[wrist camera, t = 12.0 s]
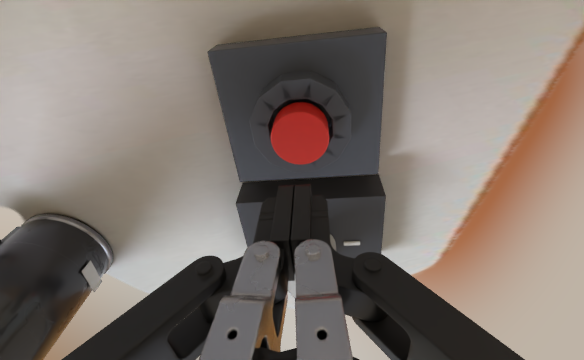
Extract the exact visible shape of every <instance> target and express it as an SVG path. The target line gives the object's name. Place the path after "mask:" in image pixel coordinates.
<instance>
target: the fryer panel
mask: <svg viewBox="0 0 584 360" xmlns="http://www.w3.org/2000/svg"><path fill="white" fill-rule="evenodd" d="M309 184H311V195H323V196H324V197H325V199H326V200H327V202H328V216H329V229H330V234H331V235H332V236H333V238H334V239H335V242H336V251H337V252H338V253H339V254H341V255H344V256H347V257H351V258H356V257H357V256H358V255H360V254H362V253H365V252H375V253H379V254H381V248H382V235H383V223H384V211H385V199H386V195H385V192H384V189H383V186H382V183H381V180H380V177H379V175H369V176H352V177H334V178H317V179H299V180H281V181H264V182H246V183H243V184H242V187H241V190H240V192H239V195H238V198H237V201H236V206H237V210H238V213H239V217H240V221H241V224H242V228H243V232H244V235H245V239H246V243H247V246H248V247H249V246H250V245H252V244H253V242H254V238H255V233H256V228H257V224H258V220H259V215H260V210H261V206H262V204H263V202H264V201H265V200H266V199H267V198H268V197H277V191H278V186H290V185H294V187H295V185H309Z"/></svg>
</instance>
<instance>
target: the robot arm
mask: <svg viewBox="0 0 584 360" xmlns="http://www.w3.org/2000/svg"><path fill="white" fill-rule="evenodd" d="M112 262H113V254H112V250H111V248H110V246H109V245H108V243H107V242H106V241H105V239H104V238H103V237H102V236H101V235H99V234H98V233H97V232H96V231H95V230H93V229H92V228H90V227H89V226H87V225H85V224H83V223H81V222H79V221H77V220H75V219H72V218H69V217H66V216H61V215H56V214H40V215H36V216H33V217H31V218H30V219H28V220H27V221H26V222H25V223H24V224H23V225H22V226H21V227H16V228H15V229H14V230H13V231H12V232H10V233H9V234H8V235H7V236H6V237H5V238H3V239H2V240H0V360H43V359H44V358H45V356H46V355H47V354H48V352H49V351H50V349H51V348H52V346H53V345H54V344H55V342H56V341H57V339H58V338H59V337H60V335H61V334H62V332H63V331H64V329H65V328H66V327H67V325H68V324H69V322H70V321H71V320H72V318H73V317H74V315H75V314H76V312H77V311H78V309H79V308H80V307H81V305H82V304H83V302H84V301H85V299H86V298H87V297H88V296H89V294H90V293H91V291H92V290H93V291H94V292H95V291H96V289H97V288H98V287H99V285H100V284H101V282H102V280H101V277H102V276H103V274H104V273H106V271H107V270H108V269H109V267H110V266H111V264H112ZM295 279H296V298H295V311H296V312H295V314H296V341H297V343H296V344H297V348H295V349H291V350H287V351H283V352H280V346H281V337H282V330H283V324H284V318H285V312H286V306H287V299H288V296H287V291H288V281H295ZM197 307H198V308H197ZM345 315H349V316H352V318H353V320H354V322H355V323H356V324H357V325H358V326H359V327H360V328H361V329H362V330H363V331H364V332H365V333H366V334H367V335H368V336H369V338H370V339H371V340H372V341H373V342H374V343H375V344H376V345H377V346H378V347H379V348H380V349H381V350H382V351H383V352H384V353H385V354H386V355H387V356H388V357H389V358H390V359H391V360H525V359H523V358H522V357H520V356H519V355H518V354H516V353H515V352H514V351H512V350H511V349H510V348H508V347H507V346H506V345H504V344H503V343H501V342H500V341H499V340H497V339H496V338H495V337H493V336H492V335H491V334H489V333H488V332H487V331H485V330H484V329H483V328H481V327H480V326H479V325H477V324H476V323H475V322H473V321H472V320H470V319H469V318H468V317H466V316H465V315H464V314H462V313H461V312H460V311H458V310H457V309H456V308H454V307H453V306H451V305H450V304H449V303H447V302H446V301H445V300H443V299H442V298H441V297H439V296H438V295H437V294H435V293H434V292H433V291H431V290H430V289H428V288H427V287H426V286H424V285H423V284H422V283H420V282H419V281H418V280H416V279H415V278H414V277H412V276H411V275H410V274H408V273H407V272H406V271H404V270H403V269H402V268H400V267H399V266H397V265H396V264H395V263H393V262H392V261H391V260H389V259H388V258H387V257H385V256H384V255H381V254H379V253H375V252H365V253H362V254H360V255H358V256H357V257H356V258H351V257H347V256H344V255H341V254H339V253H338V252H337V251H335V250H334V249H333V247H332V245H331V242H330V229H329V216H328V202H327V200H326V199H325V197H324V196H323V195H311V184H309V185H295V187H294V185H290V186H278V191H277V197H268V198H267V199H266V200H265V201H264V202H263V204H262V206H261V210H260V215H259V220H258V224H257V228H256V233H255V238H254V242H253V244H252V245H250V246H249V247H248V248H247V249H246V251H245V253H244V256H242V257H240V258H238V259H236V260H232V261H229V262H225V263H223V262H222V260H221V259H220V258H218V257H216V256H205V257H202V258H199V259H197V260H196V261H194V262H193V263H191V264H190V265H189V266H187V267H186V268H185V269H183V270H182V271H181V272H179V273H178V274H177V275H175V276H174V277H172V278H171V279H170V280H168V281H167V282H166V283H164V284H163V285H162V286H160V287H159V288H158V289H156V290H155V291H154V292H152V293H151V294H150V295H148V296H147V297H145V298H144V299H143V300H141V301H140V302H139V303H137V304H136V305H135V306H133V307H132V308H131V309H129V310H128V311H127V312H125V313H124V314H123V315H121V316H120V317H119V318H117V319H116V320H114V321H113V322H112V323H111V324H109V325H108V326H107V327H105V328H104V329H103V330H101V331H100V332H98V333H97V334H96V335H94V336H93V337H92V338H90V339H89V340H87V341H86V342H85V343H84V344H82V345H81V346H79V347H78V348H77V349H75V350H74V351H73V352H71V353H70V354H69V355H68V356H66V357H65V358H63V359H62V360H196V358H198V357H199V356H200V358H199V360H359V359H357V358H354V357H352V352H351V346H350V341H349V336H348V330H347V324H346V320H345Z"/></svg>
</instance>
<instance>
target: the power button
mask: <svg viewBox="0 0 584 360" xmlns="http://www.w3.org/2000/svg"><path fill="white" fill-rule="evenodd" d="M271 144H272V147H273V149H274V151H275V152H276V153H277V155H278V156H279V157H281V158H282V159H283V160H285V161H287V162H289V163H292V164H299V165H300V164H308V163H311V162H314V161H316V160H317V159H319V158H320V157H321V156H322V155H323V154H324V153H325V151H326V150H327V147H328V145H329V128H328V122H327V119H326V116H325V115H324V113H323V112H322V111H321V110H320V109H319V108H318V107H316V106H315V105H313V104H310V103H306V102H295V103H291V104H289V105H287V106H285V107H284V108H282V109H281V110H280V111H279V112H278V114H277V116H276V117H275V120H274V124H273V127H272V131H271Z"/></svg>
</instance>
